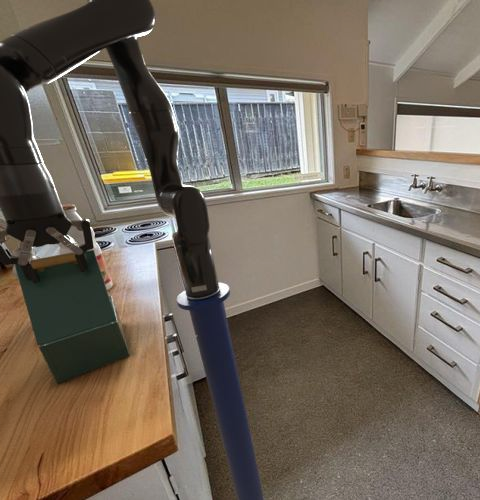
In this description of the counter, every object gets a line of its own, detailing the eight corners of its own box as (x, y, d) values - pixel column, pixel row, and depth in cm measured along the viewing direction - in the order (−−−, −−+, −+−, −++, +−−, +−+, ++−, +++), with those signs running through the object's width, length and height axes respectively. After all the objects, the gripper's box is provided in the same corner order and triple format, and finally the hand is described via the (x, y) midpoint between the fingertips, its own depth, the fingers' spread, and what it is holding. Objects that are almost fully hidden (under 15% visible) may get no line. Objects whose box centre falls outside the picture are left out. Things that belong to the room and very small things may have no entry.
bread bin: (60, 345, 66) (45, 313, 63) (122, 325, 73) (111, 295, 70) (57, 384, 55) (39, 347, 52) (129, 355, 63) (117, 322, 60)
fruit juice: (118, 281, 98) (90, 201, 88) (106, 294, 89) (74, 207, 80) (84, 286, 95) (52, 203, 85) (69, 299, 87) (31, 210, 77)
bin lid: (16, 266, 55) (4, 256, 50) (94, 251, 62) (89, 241, 58) (38, 345, 52) (28, 342, 48) (117, 320, 60) (114, 316, 56)
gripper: (80, 185, 57) (106, 261, 63) (-32, 193, 48) (10, 281, 54) (80, 188, 52) (108, 270, 58) (-46, 198, 43) (2, 295, 49)
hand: (60, 275), depth 56 cm, fingers closed on bin lid, 6 cm apart
